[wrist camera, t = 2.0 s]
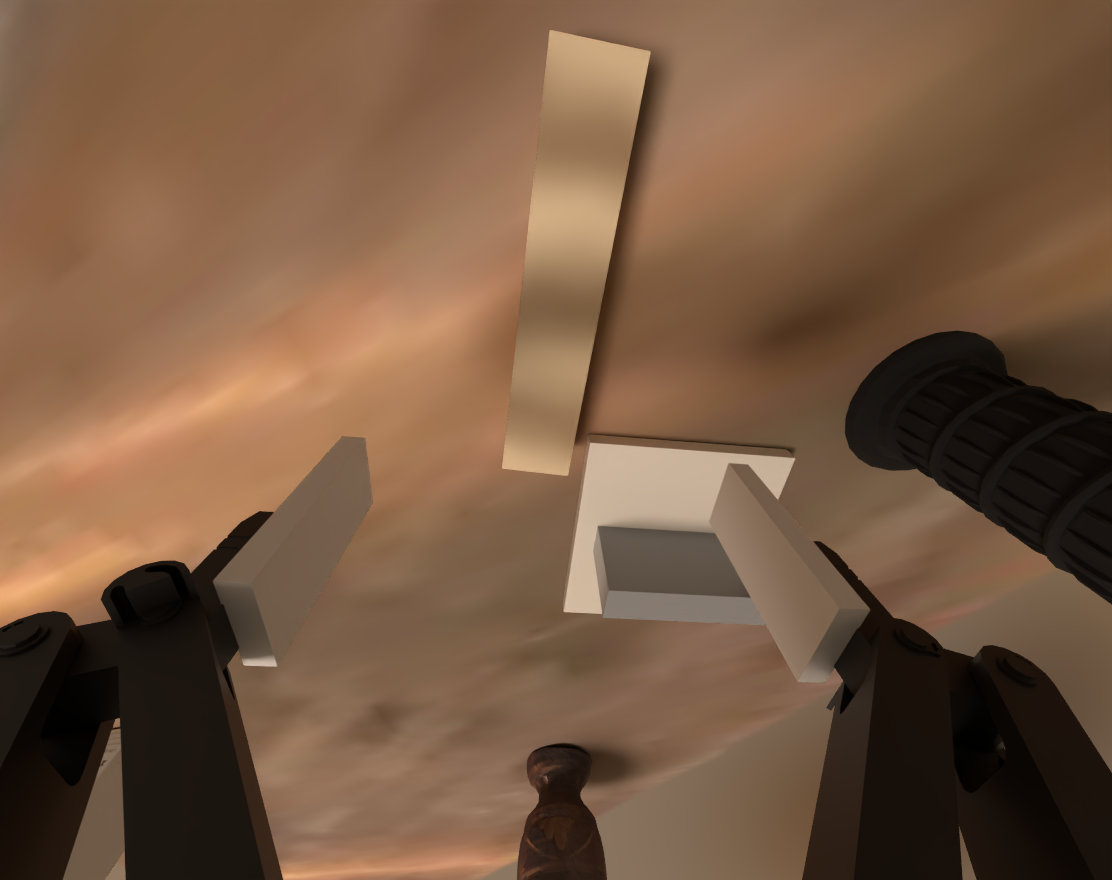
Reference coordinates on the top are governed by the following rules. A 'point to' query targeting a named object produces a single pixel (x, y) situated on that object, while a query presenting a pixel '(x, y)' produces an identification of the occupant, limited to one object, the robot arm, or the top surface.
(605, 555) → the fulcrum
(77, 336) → the top surface
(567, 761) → the mortar and pestle
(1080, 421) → the handle grip
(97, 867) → the supplement box
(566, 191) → the maple bar
